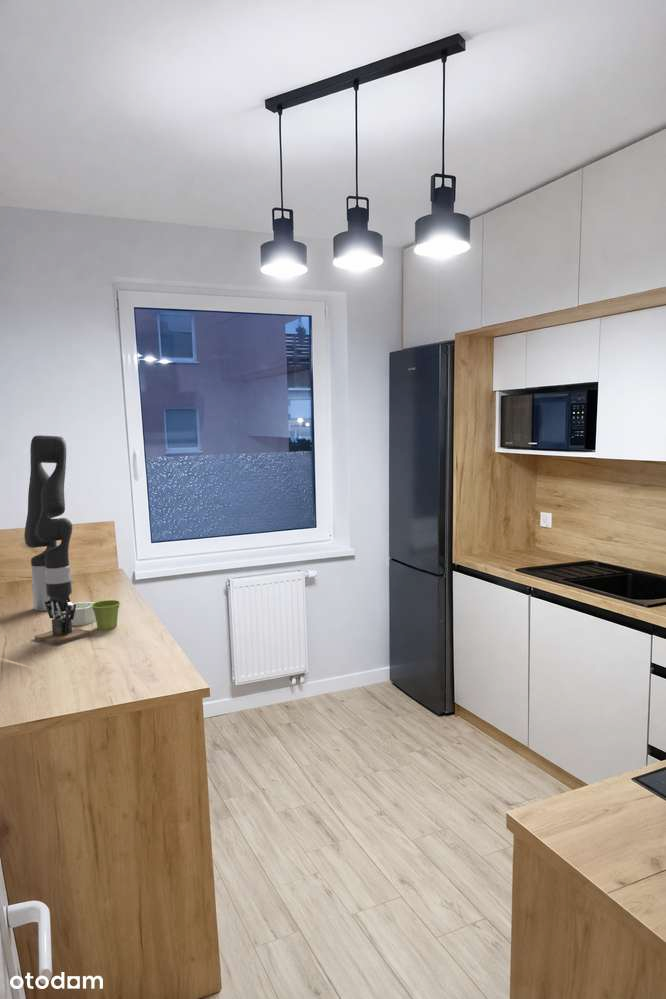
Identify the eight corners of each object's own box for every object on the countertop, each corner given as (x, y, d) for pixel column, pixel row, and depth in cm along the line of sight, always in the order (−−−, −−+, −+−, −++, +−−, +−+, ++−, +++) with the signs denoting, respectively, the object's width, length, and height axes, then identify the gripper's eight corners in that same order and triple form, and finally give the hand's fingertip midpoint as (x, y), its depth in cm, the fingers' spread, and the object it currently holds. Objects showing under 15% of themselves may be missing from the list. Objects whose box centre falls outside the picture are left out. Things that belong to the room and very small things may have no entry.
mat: (30, 641, 209) (30, 640, 209) (68, 629, 221) (68, 628, 221) (56, 648, 202) (56, 646, 202) (95, 635, 213) (94, 634, 213)
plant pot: (128, 625, 224) (126, 601, 223) (107, 633, 215) (106, 608, 214) (107, 623, 227) (105, 599, 227) (86, 631, 219) (84, 605, 218)
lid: (34, 639, 210) (33, 620, 209) (67, 629, 220) (66, 611, 219) (57, 645, 203) (55, 625, 202) (90, 634, 213) (89, 616, 212)
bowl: (60, 624, 228) (59, 607, 228) (85, 616, 237) (83, 600, 236) (78, 627, 223) (76, 610, 222) (102, 620, 231) (101, 603, 231)
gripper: (82, 579, 209) (86, 632, 210) (55, 575, 216) (59, 626, 218) (61, 584, 202) (65, 638, 204) (34, 580, 210) (38, 632, 212)
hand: (62, 632), depth 211 cm, fingers closed on lid, 3 cm apart
